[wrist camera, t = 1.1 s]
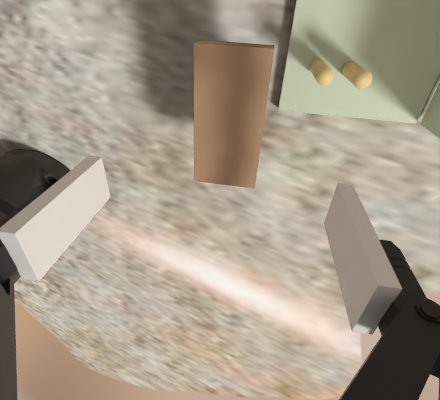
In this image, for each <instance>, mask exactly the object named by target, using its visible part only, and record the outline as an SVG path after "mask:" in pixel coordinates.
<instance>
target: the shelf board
mask: <svg viewBox="0 0 440 400" xmlns="http://www.w3.org/2000/svg"><path fill="white" fill-rule="evenodd" d="M193 52H194V181H199V182H207V183H215V184H223V185H231V186H239V187H248V188H255V182H256V174H257V167H258V160H259V153H260V146H261V139H262V132H263V125H264V118H265V111H266V104H267V97H268V90H269V82H270V75H271V68H272V61H273V54H274V45H262V44H248V43H234V42H220V41H206V40H200V41H197V42H195V43H193Z"/></svg>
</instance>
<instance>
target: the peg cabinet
mask: <svg viewBox="0 0 440 400" xmlns="http://www.w3.org/2000/svg"><path fill="white" fill-rule="evenodd" d="M439 73H440V0H296V4H295V10H294V16H293V22H292V28H291V34H290V40H289V46H288V52H287V58H286V64H285V70H284V76H283V82H282V88H281V94H280V100H279V106H278V110H280V111H291V112H302V113H312V114H323V115H333V116H344V117H354V118H365V119H375V120H386V121H397V122H407V123H417V121H418V119H419V116H420V114H421V112H422V110H423V108H424V106H425V103H426V101H427V99H428V97H429V95H430V93H431V91H432V88H433V86H434V84H435V82H436V80H437V78H438V75H439ZM421 125H423V126H424V127H425V128H427V129H428V130H429V131H430V132H432V133H433V134H434V135H436V136H437V137H438V138H439V139H440V83H439V86H438V88H437V90H436V92H435V94H434V96H433V98H432V100H431V102H430V105H429V107H428V109H427V111H426V113H425V115H424V117H423V119H422V121H421Z"/></svg>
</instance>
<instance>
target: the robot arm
mask: <svg viewBox="0 0 440 400" xmlns="http://www.w3.org/2000/svg"><path fill="white" fill-rule="evenodd" d="M109 198H110V193H109V188H108V184H107V179H106V175H105V170H104V166H103V161H102V157H95V156H88V157H87V158H86V159H84V160H83V161H82V162H81V163H79V164H78V165H77V166H76V167H75V168H73V169H72V170H71V171H70V170H69V169H67V168H66V167H65V166H64V165H62V164H61V163H59V162H58V161H56V160H55V159H53V158H51V157H49V156H47V155H45V154H42V153H39V152H36V151H32V150H24V149H20V150H13V151H10V152H8V153H6V154H4V155H2V156H0V400H17V375H16V340H15V305H14V283H15V282H16V281H17V280H18V279H19V278H20V277H22V279H26V280H32V281H38V282H39V281H40V279H41V278H42V277H43V276H44V275H45V274H46V272H47V271H48V270H49V269H50V268H51V266H52V265H53V264H54V263H55V262H56V261H57V259H58V258H59V257H60V256H61V255H62V253H63V252H64V251H65V250H66V249H67V248H68V246H69V245H70V244H71V243H72V242H73V241H74V239H75V238H76V237H77V236H78V235H79V233H80V232H81V231H82V230H83V229H84V228H85V226H86V225H87V224H88V223H89V222H90V220H91V219H92V218H93V217H94V216H95V215H96V213H97V212H98V211H99V210H100V209H101V208H102V206H103V205H104V204H105V203H106V202H107V200H108V199H109ZM324 225H325V229H326V233H327V236H328V240H329V244H330V248H331V252H332V256H333V260H334V264H335V268H336V271H337V275H338V279H339V283H340V287H341V291H342V295H343V299H344V303H345V306H346V310H347V314H348V318H349V322H350V326H351V330H352V331H354V332H361V333H367V334H373V333H374V331H375V330H376V328H377V327H378V326H379V329H380V332H381V335H382V337H381V338H380V340H379V341H378V342H377V344H376V345H375V347H374V348H373V349H372V351H371V353H370V354H369V356H368V357H367V359H366V360H365V362H364V363H363V365H362V366H361V368H360V369H359V371H358V372H357V374H356V375H355V377H354V378H353V380H352V381H351V383H350V384H349V385H348V387H347V388H346V390H345V391H344V393H343V394H342V396H341V397H340V399H339V400H418V399H419V396H420V394H421V392H422V390H423V388H424V386H425V384H426V381H427V379H428V377H429V375H430V374H431V375H433V376H436V377H438V378H439V400H440V306H439V305H438V304H437V303H435V302H434V301H432V300H430V299H427V298H426V296H425V294H424V292H423V290H422V289H421V287H420V285H419V283H418V281H417V280H416V278H415V276H414V274H413V272H412V270H411V269H410V267H409V265H408V263H407V262H406V261H405V260H406V259H405V258H404V256H403V254H402V252H401V250H400V249H399V248H398V247H397V246H396V245H394V244H393V243H392V242H391V241H386V240H379V239H378V237H377V235H376V233H375V230H374V228H373V226H372V224H371V222H370V220H369V218H368V216H367V214H366V212H365V209H364V207H363V205H362V203H361V201H360V199H359V197H358V195H357V193H356V191H355V189H354V186H353V185H349V184H340V183H338V184H337V187H336V190H335V193H334V196H333V199H332V202H331V205H330V208H329V211H328V214H327V217H326V220H325V223H324Z"/></svg>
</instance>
